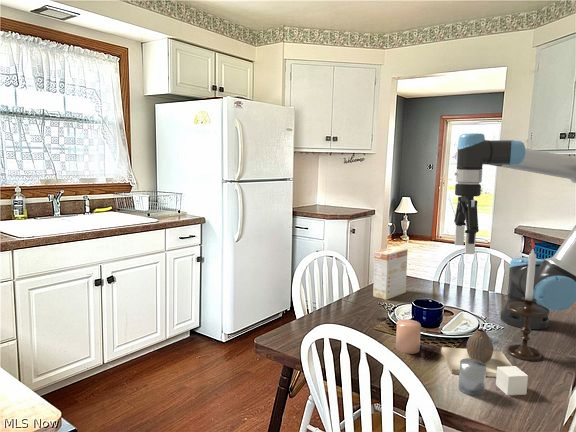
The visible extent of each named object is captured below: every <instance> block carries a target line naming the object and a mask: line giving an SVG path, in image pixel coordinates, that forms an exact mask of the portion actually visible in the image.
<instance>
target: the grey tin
mask: <svg viewBox="0 0 576 432" xmlns="http://www.w3.org/2000/svg"><path fill="white" fill-rule="evenodd" d="M486 377H487V376H486V364H485V363H483V362H482V361H479V360H476V359H471V358H465V359H462V360H461V361H460V372H459V374H458V387H457V388H458V390H459V391H460V392H461V393H462V394H464V395H465V396H469V397H478V398H479V397H482V396H484V395H485V391H486V390H485V388H486Z"/></svg>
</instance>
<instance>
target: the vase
mask: <svg viewBox="0 0 576 432" xmlns="http://www.w3.org/2000/svg"><path fill="white" fill-rule="evenodd" d="M466 349H467V353H468V355H469V357H470V358H471V359H476V360H479V361H482V362H483V363H486V362H487V361H489V360H490V359H491V357H492V355H493V351H494V343H493V341H492V339H491V337H489V335H488V333H487V331H486V329H483V328H477V329H476V330H475V331H474V332H473V333H472V334H471V335H470V336H469V338H468V340H467V342H466Z"/></svg>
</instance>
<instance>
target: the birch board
mask: <svg viewBox="0 0 576 432" xmlns="http://www.w3.org/2000/svg"><path fill="white" fill-rule="evenodd" d="M441 353H442V354H443V358H444V359H445V361H446V364H447V366H448V368H449V371H450V372H451V374H455V375H459V372H460V361H461V360H462V359H465V358H470V357H469V355H468V353H467V348H457V347H445V346H444V347H443V346H441ZM485 364H486V377H490V378H496V375H497V367H505V366H513V365H512V363H511V362H510V360H509V359H508V358H507V357H506V355H505V354H504V353H503V351H501V350H500V351H498V350H493V355H492V357H491V359H490V360H489V361H487V362H486V363H485Z"/></svg>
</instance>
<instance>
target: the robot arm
mask: <svg viewBox="0 0 576 432" xmlns="http://www.w3.org/2000/svg"><path fill="white" fill-rule="evenodd" d="M456 156H457V157H456V158H457V159H456V172H454V174H453V175H454V176H455V182H456V183H455V184H454V185H455V187H454V194H455V196H458V197H457V204H456V210H455V216H454V221H453V222H454V223H455V233H454V235H455V236H454V245H455V246H464V254H465V255H475V253H476V251H475V249H476V239H477V238H476V237H477V233H479V231H480V230H479V217H478V200H477V199H476V200H475V199H474V198H475V197H480V196H481V195H482V193H481V191H482V184H480V183H482V182H483V179H482V178H483V166H484V165H488V166H494V167H500V168H506V169H512V170H518V171H523V172H527V173H529V172H530V173H535V174H539V175H545V176H551V177H557V178H561V179H567V180H570V181H571V183H573V184H576V156H573V155H568V154H567V155H566V154H561V153H560V154H559V153H555V152H548V151H543V150H539V149H538V150H537V149H531V148H526V147H525V143H524V142H523V141H521V140H513V139H511V140H503V139H502V140H496V139H495V140H490V139H489V140H488V139H486V137H485V134H484V133H478V132H477V133H473V132H472V133H471V132H470V133H462V134H460V135H459V137H458V142H457V155H456ZM465 228H466V229H465ZM464 242H465V243H464ZM464 244H465V245H464ZM528 259H529V257H515V258H512V259H511V260H510V263H509V267H508V269H509V271H508V273H509V274H508V287H507V298H506V300H505V302H504V304H503V306H502V308H501V310H500V317H499V318H500V319H501V321H503V322H504V323H506V324H507V325H511V326H513V327H516V328H520V329H521V328H522V327H524V318H525V316H521V315H517V314H515V313H512V312H510V311H509V310H508V309H507V304H508V303H510V302H524V301H525V300H523V299H521V297H525V294H526V282H527V271H528ZM533 298H534V299H536V301H533V302H532V303H534V304H538V305H541V306H544V307H546V308H547V309H549V311H558V312H559V311H564V310H567V309H570V308H571V307H573V306H574V305H575V304H576V224H575V225H574V226H573V228H572V229H571V230H570V232H569V233H568V235H567V236H566V238H565V239H564V240H563V242H562V244H561V245H560V246H559V248H558V249H557V250H556V252H555V253H554V255H553V256H552V257H547V258H544V259H542V258H541V259H540V258H536V263H535V275H534V286H533ZM549 321H550V319H549V316H547V317H543V318H533V317H530V320H529V328H530V329H531V330H544V329H547V328H548V327H549Z"/></svg>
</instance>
